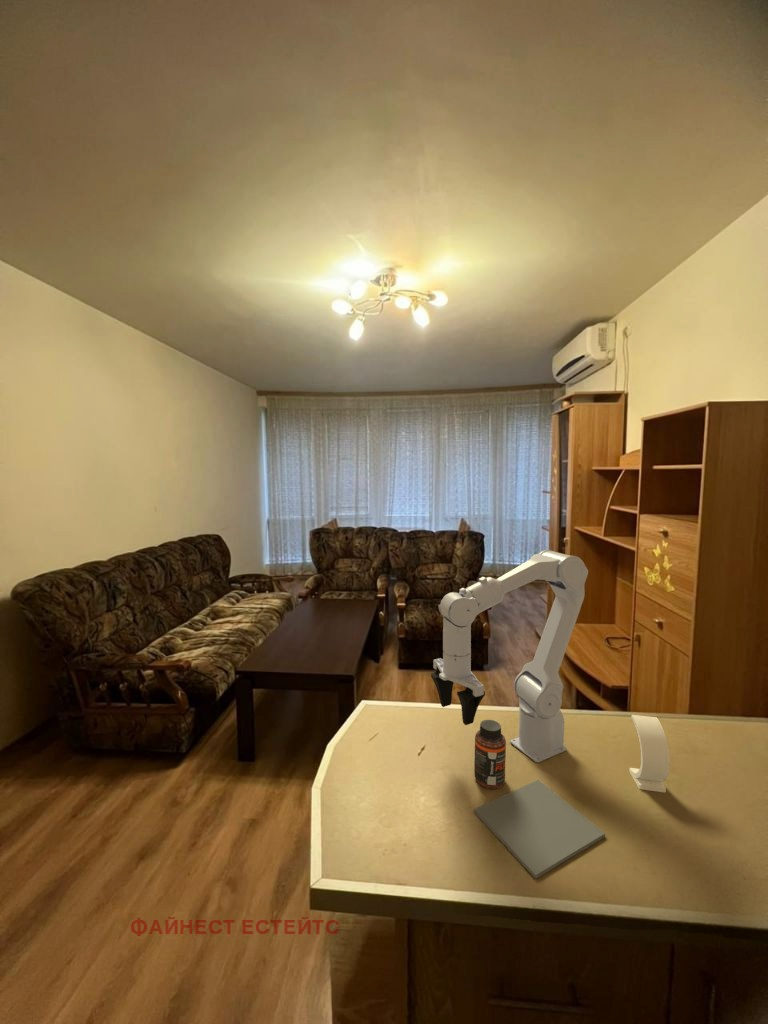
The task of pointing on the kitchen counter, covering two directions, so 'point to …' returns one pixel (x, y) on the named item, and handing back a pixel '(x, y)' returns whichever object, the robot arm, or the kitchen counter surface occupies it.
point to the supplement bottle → (490, 755)
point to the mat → (538, 827)
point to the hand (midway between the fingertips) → (456, 713)
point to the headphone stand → (651, 754)
